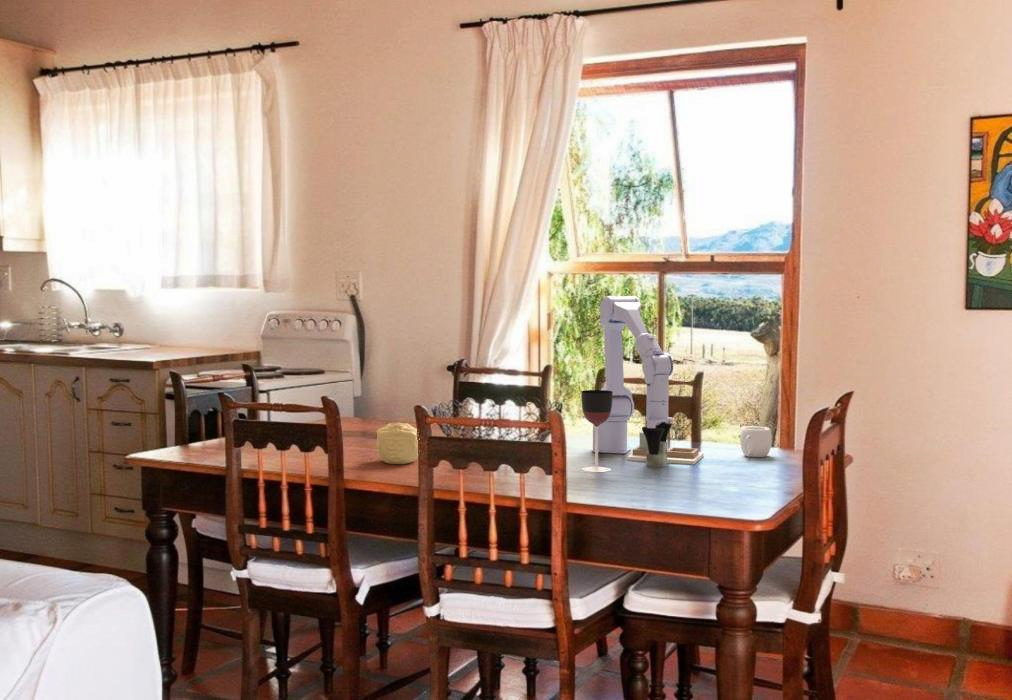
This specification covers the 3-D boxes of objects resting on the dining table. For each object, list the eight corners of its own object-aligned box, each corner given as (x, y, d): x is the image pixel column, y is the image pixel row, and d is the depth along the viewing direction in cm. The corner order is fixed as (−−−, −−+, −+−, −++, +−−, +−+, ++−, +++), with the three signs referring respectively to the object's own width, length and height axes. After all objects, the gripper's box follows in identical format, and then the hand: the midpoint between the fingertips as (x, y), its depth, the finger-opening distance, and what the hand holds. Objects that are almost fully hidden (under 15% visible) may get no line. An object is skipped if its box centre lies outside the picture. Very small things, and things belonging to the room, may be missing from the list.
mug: (746, 452, 294) (747, 425, 293) (775, 455, 289) (776, 427, 289) (730, 458, 284) (730, 430, 283) (760, 461, 279) (760, 432, 279)
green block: (646, 466, 272) (646, 443, 272) (650, 463, 277) (650, 440, 276) (663, 467, 271) (663, 444, 270) (667, 464, 275) (667, 441, 275)
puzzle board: (627, 460, 281) (627, 434, 280) (639, 452, 294) (639, 427, 293) (693, 464, 274) (694, 438, 274) (703, 456, 287) (703, 431, 287)
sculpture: (373, 466, 271) (373, 425, 271) (379, 458, 283) (379, 419, 283) (417, 466, 271) (417, 425, 271) (422, 458, 283) (421, 419, 282)
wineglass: (585, 472, 262) (585, 393, 261) (577, 466, 271) (577, 390, 270) (615, 472, 264) (616, 393, 262) (607, 465, 272) (607, 389, 271)
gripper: (666, 404, 264) (666, 457, 265) (678, 398, 278) (677, 449, 279) (639, 403, 267) (639, 455, 268) (652, 397, 280) (651, 447, 281)
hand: (657, 452), depth 273 cm, fingers open, 7 cm apart
